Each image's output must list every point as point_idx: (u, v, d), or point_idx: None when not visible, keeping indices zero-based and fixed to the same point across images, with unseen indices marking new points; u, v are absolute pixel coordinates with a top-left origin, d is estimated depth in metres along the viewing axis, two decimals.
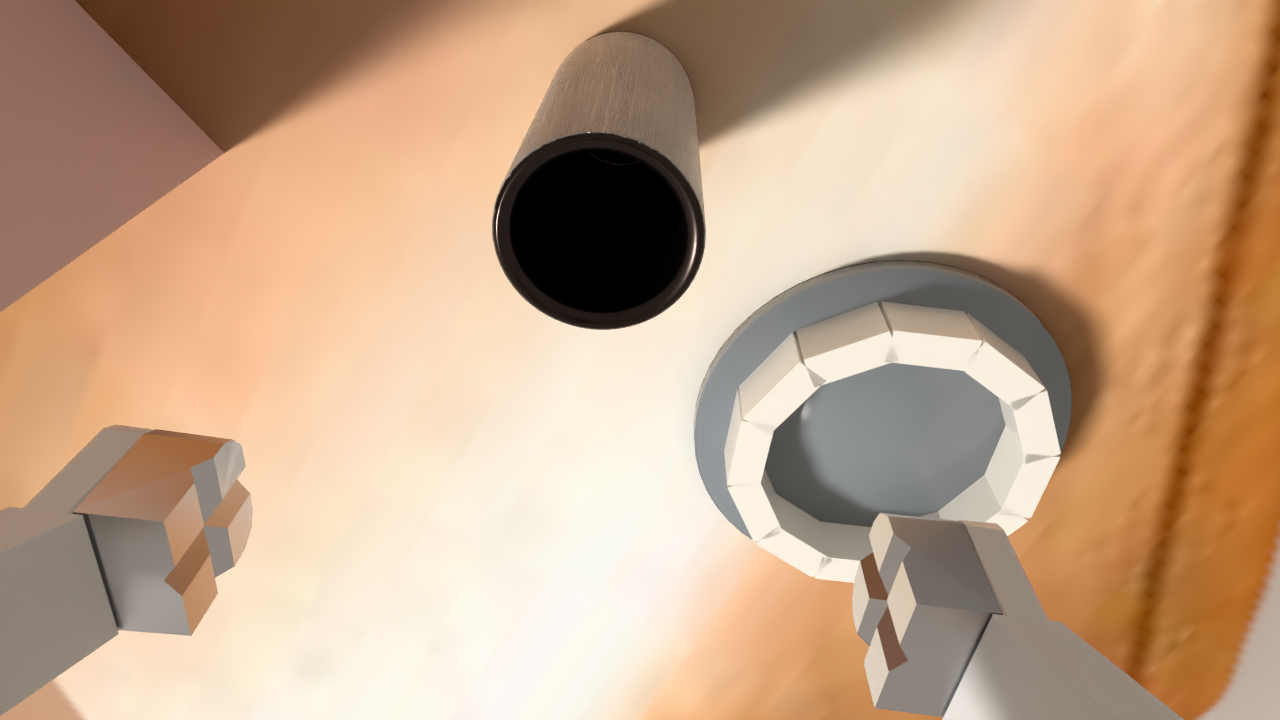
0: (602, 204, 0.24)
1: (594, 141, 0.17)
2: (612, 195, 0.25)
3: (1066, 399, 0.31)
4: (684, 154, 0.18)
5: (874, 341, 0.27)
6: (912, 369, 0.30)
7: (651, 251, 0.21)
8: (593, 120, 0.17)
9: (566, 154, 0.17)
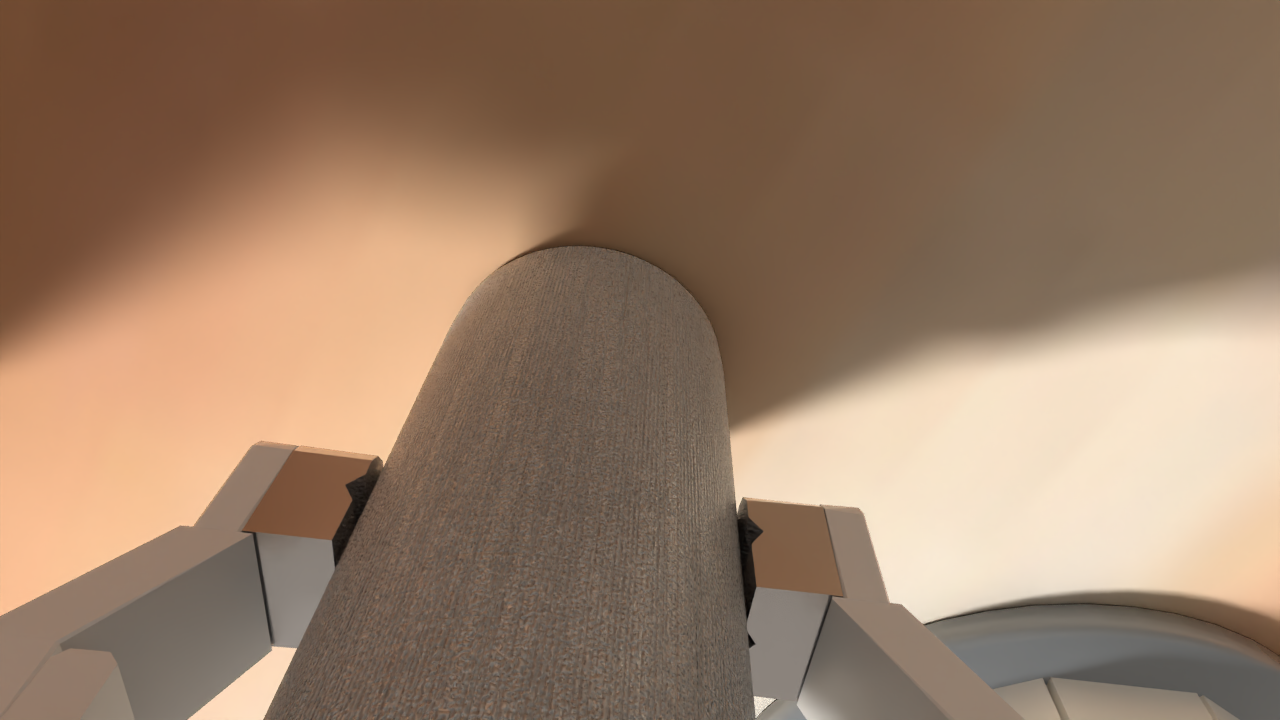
0: None
1: None
2: None
3: None
4: None
5: None
6: None
7: None
8: None
9: None
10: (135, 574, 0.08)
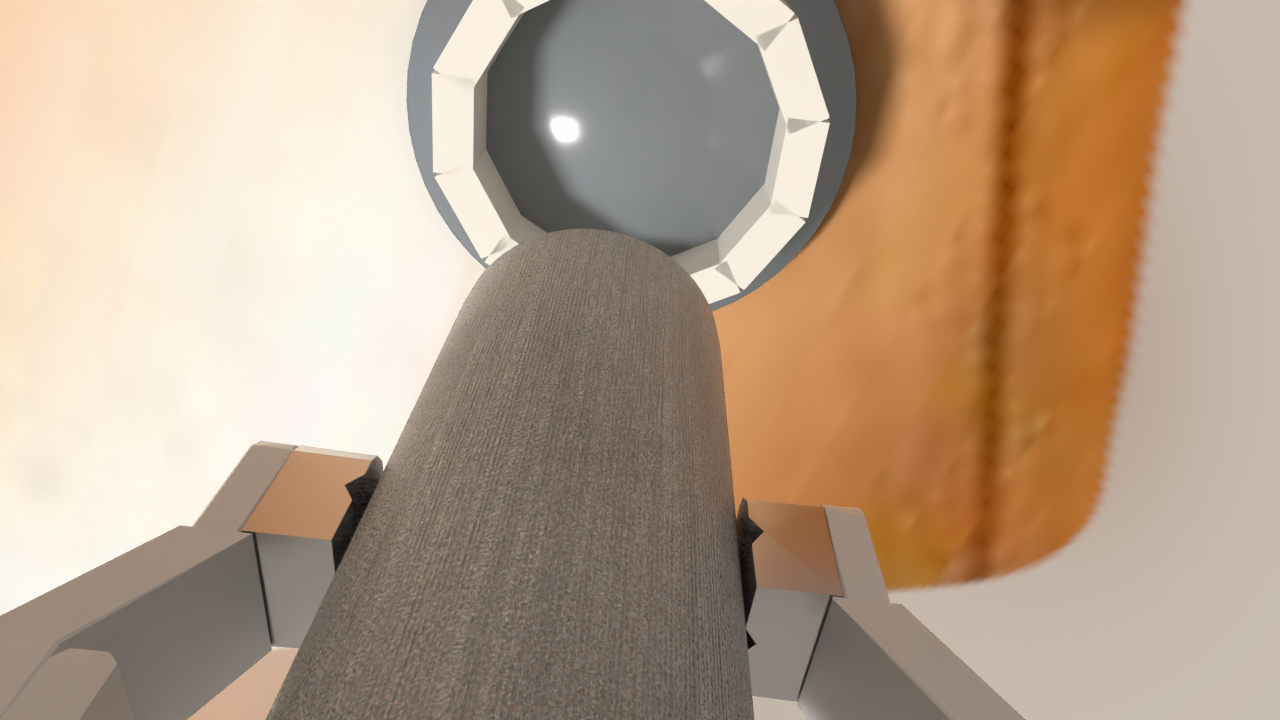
0: None
1: None
2: None
3: (847, 68, 0.25)
4: None
5: None
6: (654, 24, 0.25)
7: None
8: None
9: None
10: (134, 574, 0.08)
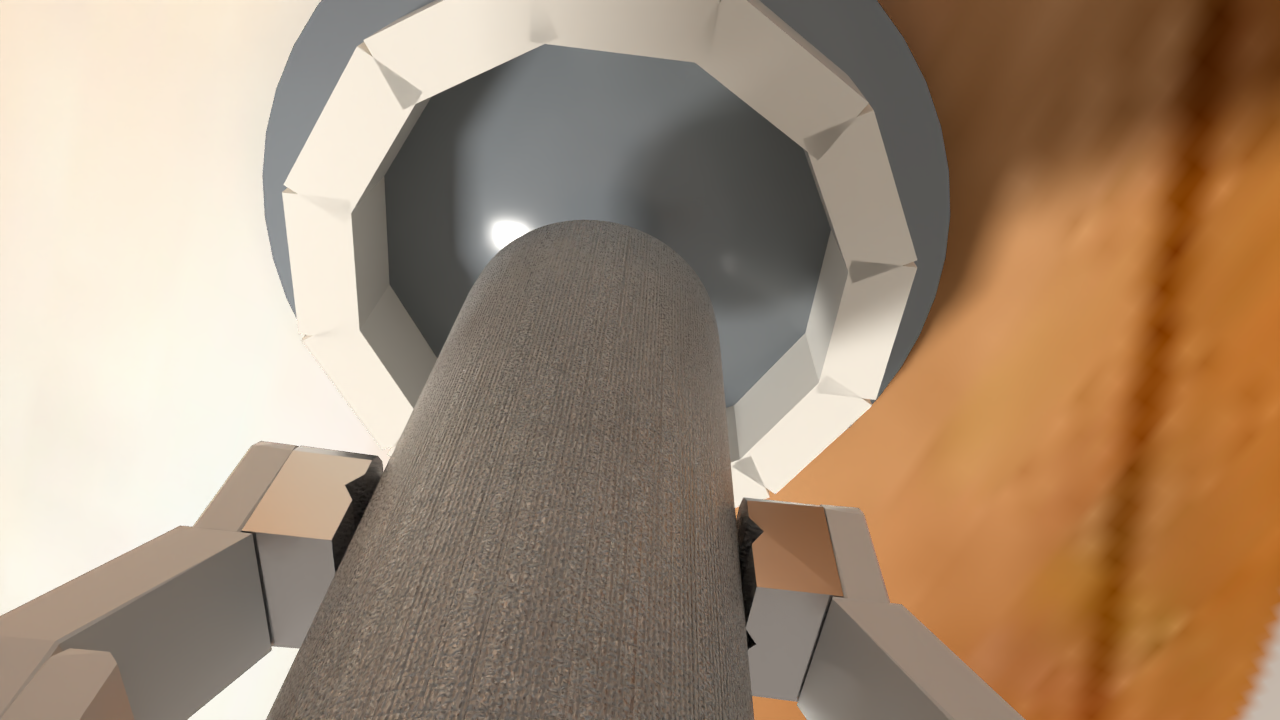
0: None
1: None
2: None
3: (938, 172, 0.16)
4: None
5: None
6: (639, 108, 0.16)
7: None
8: (445, 713, 0.06)
9: None
10: (135, 574, 0.08)
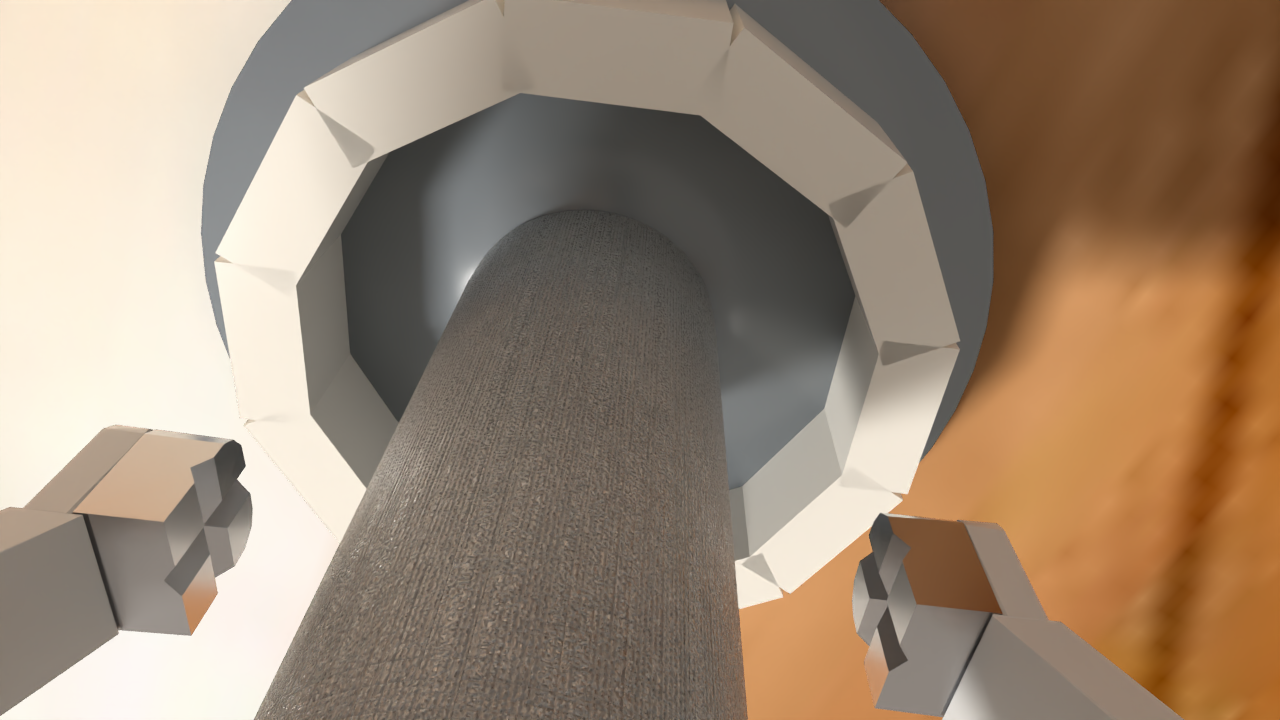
0: None
1: None
2: None
3: (980, 232, 0.14)
4: (703, 700, 0.07)
5: (462, 29, 0.11)
6: (634, 159, 0.14)
7: None
8: (441, 682, 0.06)
9: None
10: None
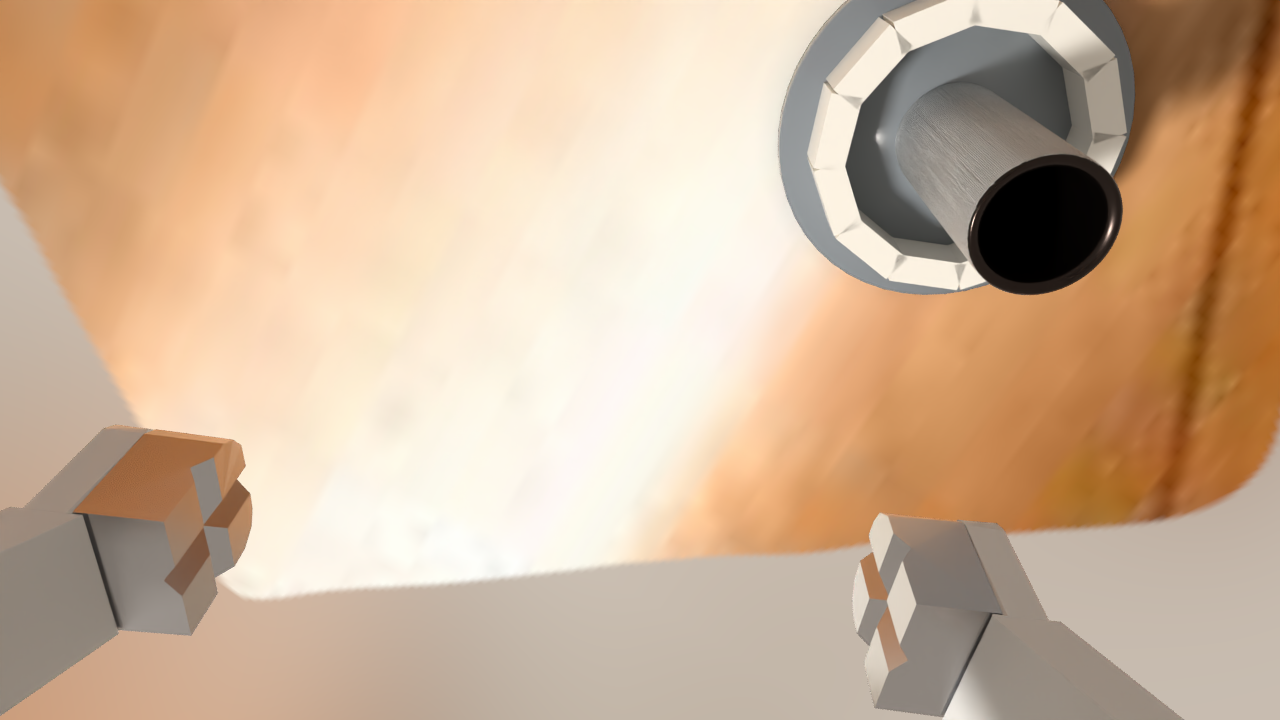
0: None
1: (1061, 160, 0.24)
2: None
3: (1129, 95, 0.33)
4: None
5: (960, 0, 0.30)
6: (987, 60, 0.33)
7: (1039, 242, 0.28)
8: (1048, 146, 0.25)
9: (1036, 169, 0.25)
10: None
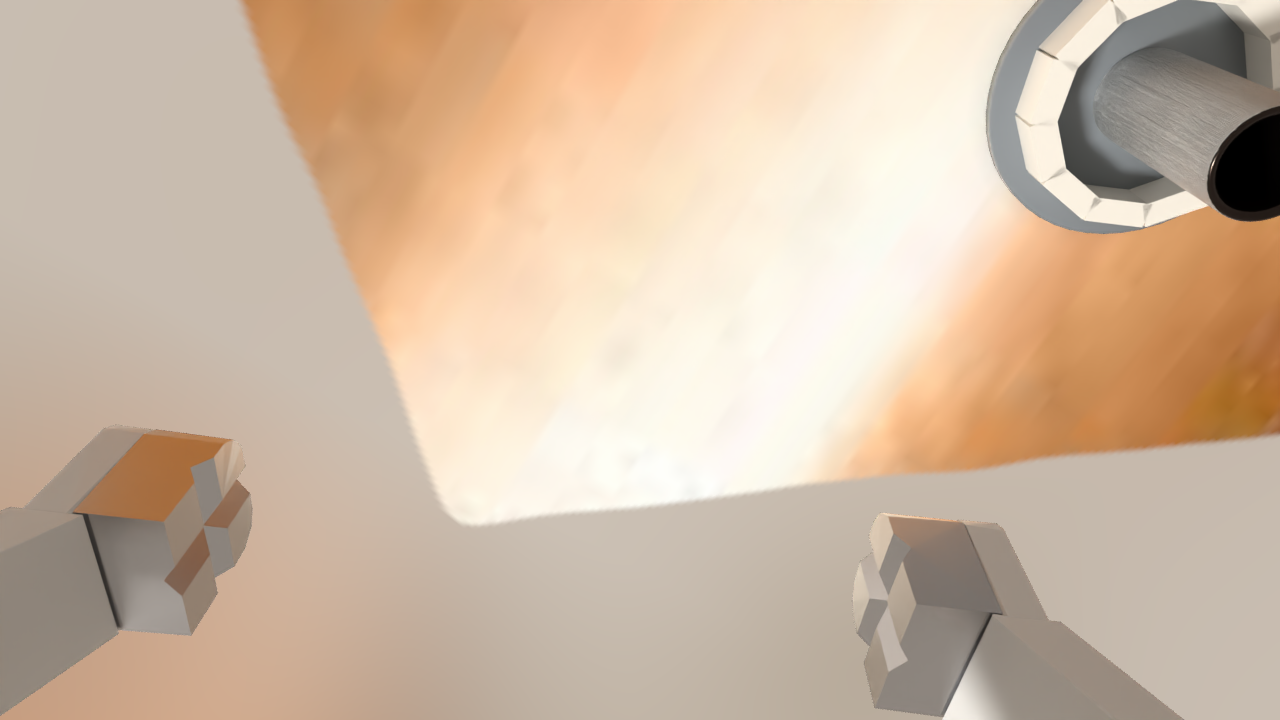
0: None
1: None
2: None
3: None
4: None
5: None
6: (1180, 27, 0.38)
7: (1248, 179, 0.34)
8: (1278, 98, 0.31)
9: (1271, 116, 0.30)
10: None
